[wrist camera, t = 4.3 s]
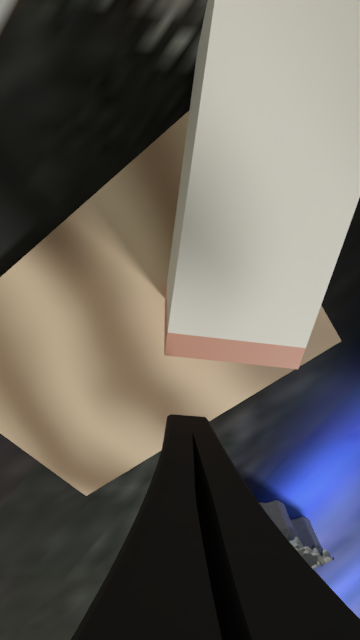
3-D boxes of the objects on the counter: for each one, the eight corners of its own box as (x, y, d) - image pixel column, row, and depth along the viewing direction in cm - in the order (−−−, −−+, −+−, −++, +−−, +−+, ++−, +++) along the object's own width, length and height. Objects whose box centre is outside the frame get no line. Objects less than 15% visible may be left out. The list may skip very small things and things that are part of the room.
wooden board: (201, 103, 12) (203, 97, 11) (335, 336, 16) (341, 340, 16) (-87, 357, 15) (-97, 362, 15) (88, 488, 20) (86, 495, 19)
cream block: (247, 308, 15) (306, 77, 11) (298, 369, 9) (450, -59, 5) (164, 298, 14) (197, 53, 11) (164, 355, 9) (232, -122, 5)
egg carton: (229, 579, 26) (240, 642, 22) (173, 548, 24) (174, 612, 20) (322, 525, 23) (352, 586, 20) (269, 485, 21) (291, 545, 17)
